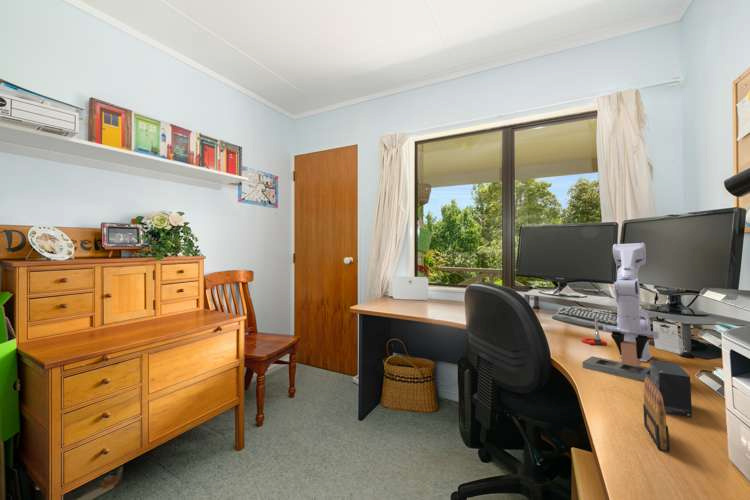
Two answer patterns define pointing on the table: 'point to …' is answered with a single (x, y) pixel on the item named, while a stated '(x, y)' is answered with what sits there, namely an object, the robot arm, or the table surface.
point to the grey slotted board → (617, 368)
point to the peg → (629, 353)
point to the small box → (672, 387)
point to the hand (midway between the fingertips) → (630, 356)
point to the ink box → (668, 338)
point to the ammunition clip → (655, 416)
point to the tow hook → (597, 340)
